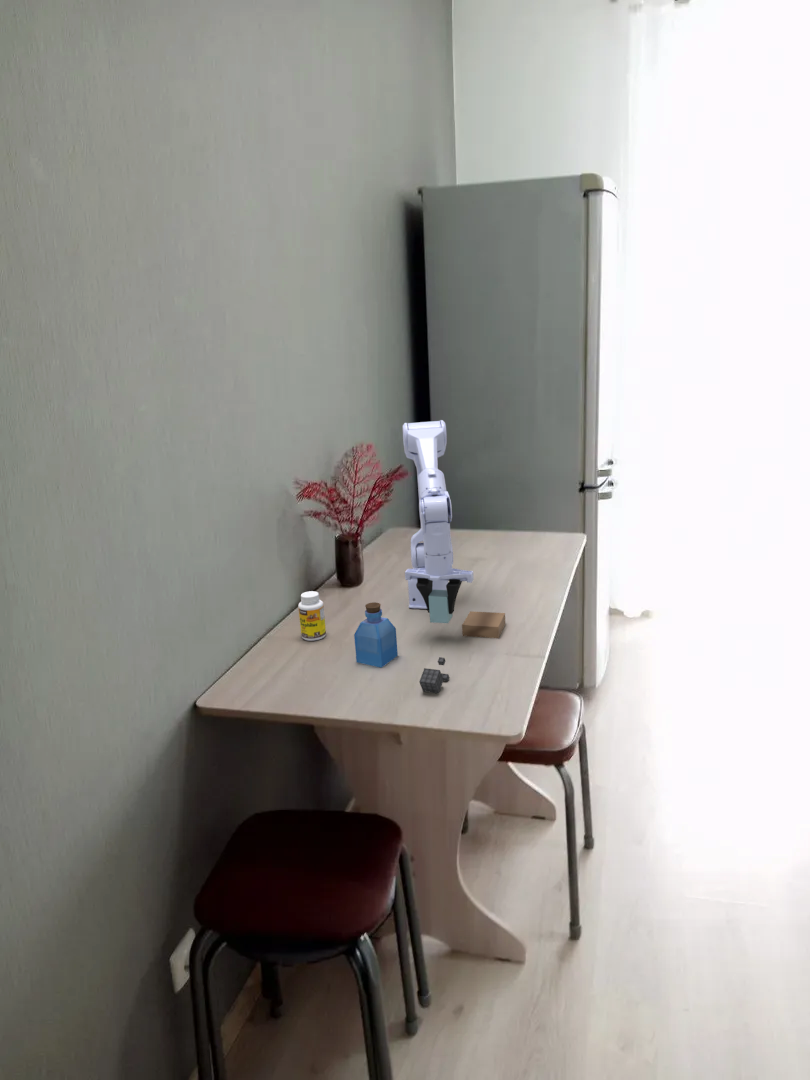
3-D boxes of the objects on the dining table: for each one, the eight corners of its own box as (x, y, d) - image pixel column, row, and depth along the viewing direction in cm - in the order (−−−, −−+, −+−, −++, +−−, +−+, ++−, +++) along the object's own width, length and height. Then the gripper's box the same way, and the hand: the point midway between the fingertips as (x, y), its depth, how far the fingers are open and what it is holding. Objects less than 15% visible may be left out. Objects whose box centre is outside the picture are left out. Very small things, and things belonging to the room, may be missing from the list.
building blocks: (419, 681, 152) (431, 648, 158) (425, 698, 156) (437, 665, 161) (435, 683, 151) (447, 649, 156) (441, 701, 155) (453, 667, 160)
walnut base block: (462, 637, 178) (462, 625, 177) (470, 623, 185) (470, 611, 184) (498, 639, 176) (498, 627, 175) (505, 625, 183) (505, 613, 182)
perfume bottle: (381, 667, 165) (377, 612, 162) (356, 662, 169) (351, 608, 165) (397, 655, 170) (393, 602, 167) (373, 650, 174) (368, 598, 170)
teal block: (430, 622, 175) (428, 596, 173) (434, 615, 178) (433, 589, 177) (448, 623, 174) (446, 596, 172) (452, 616, 177) (451, 590, 175)
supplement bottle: (297, 641, 181) (292, 597, 178) (307, 631, 186) (303, 589, 183) (320, 642, 180) (316, 599, 177) (330, 632, 185) (326, 590, 182)
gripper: (399, 556, 170) (403, 617, 174) (467, 558, 166) (470, 620, 170) (408, 546, 176) (412, 604, 180) (474, 548, 172) (477, 607, 176)
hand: (441, 611), depth 175 cm, fingers closed on teal block, 4 cm apart
